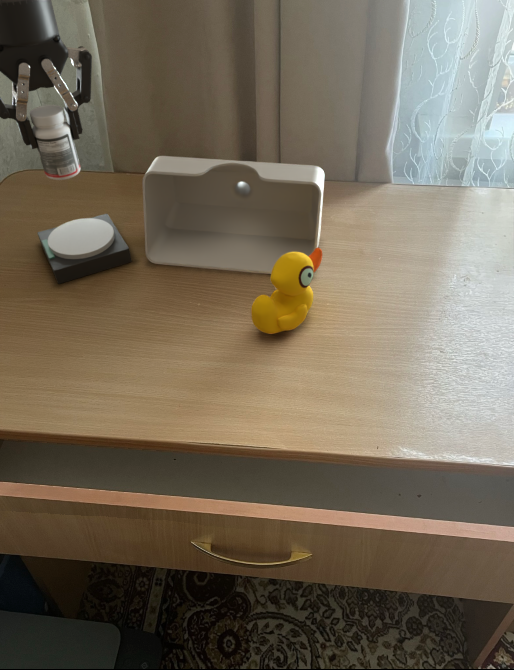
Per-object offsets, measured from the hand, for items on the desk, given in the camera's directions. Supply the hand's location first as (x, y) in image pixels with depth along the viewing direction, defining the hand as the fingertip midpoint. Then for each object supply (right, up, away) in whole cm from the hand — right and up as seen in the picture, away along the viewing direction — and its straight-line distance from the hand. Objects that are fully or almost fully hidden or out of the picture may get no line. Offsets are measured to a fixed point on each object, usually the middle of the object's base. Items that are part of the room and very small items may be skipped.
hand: (54, 141), depth 72 cm
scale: (0, -13, +13) cm, 18 cm away
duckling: (+30, -23, +1) cm, 38 cm away
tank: (+23, -10, +15) cm, 29 cm away
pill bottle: (0, -3, +3) cm, 5 cm away
